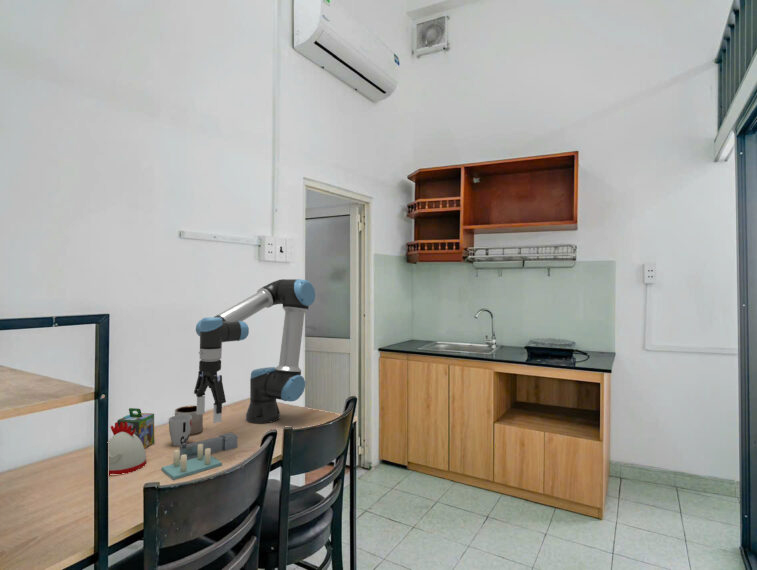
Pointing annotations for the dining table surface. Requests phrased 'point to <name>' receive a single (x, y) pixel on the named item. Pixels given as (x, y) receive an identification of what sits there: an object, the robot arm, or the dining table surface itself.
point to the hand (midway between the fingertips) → (208, 418)
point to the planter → (196, 419)
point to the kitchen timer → (125, 450)
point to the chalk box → (140, 425)
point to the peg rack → (191, 464)
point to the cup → (180, 429)
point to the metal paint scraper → (210, 445)
